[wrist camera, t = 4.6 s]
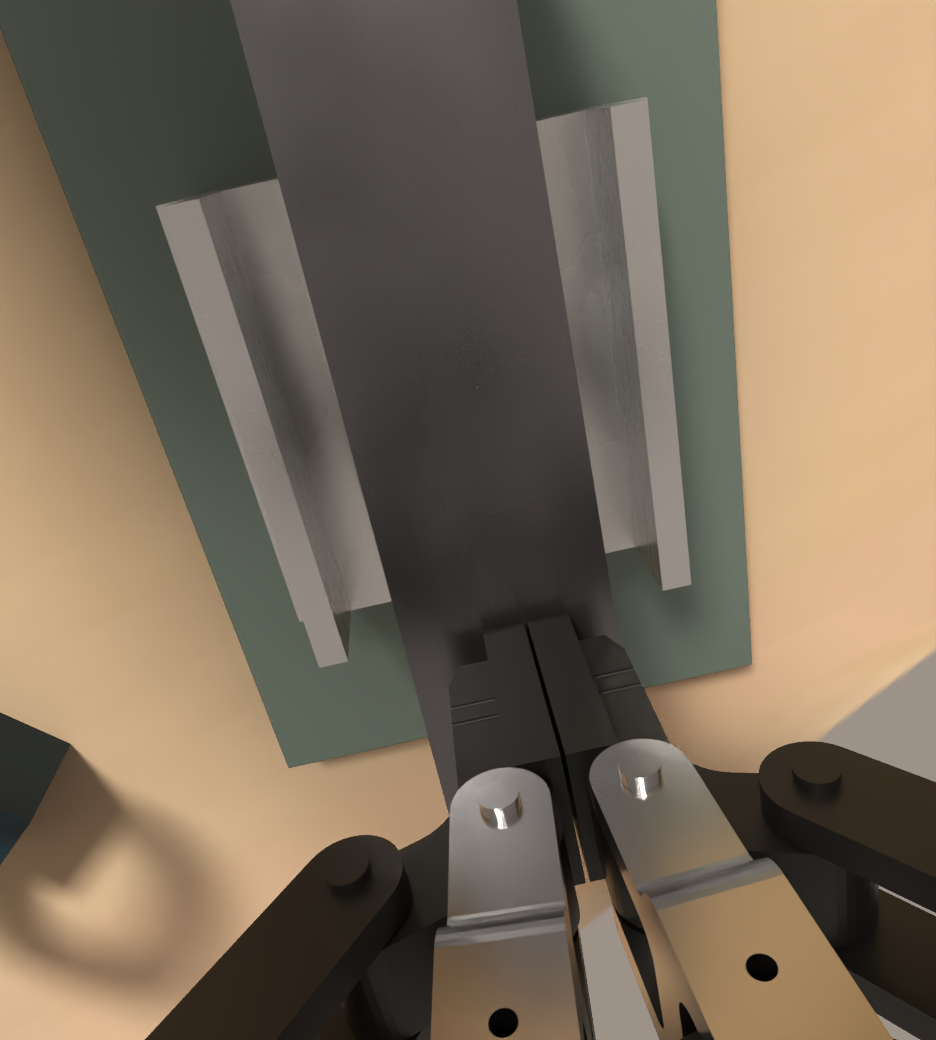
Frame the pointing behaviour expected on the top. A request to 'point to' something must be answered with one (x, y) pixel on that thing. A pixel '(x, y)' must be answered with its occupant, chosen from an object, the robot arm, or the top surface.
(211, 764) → the top surface
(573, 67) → the board
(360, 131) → the strap
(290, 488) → the heat sink
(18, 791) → the watch
